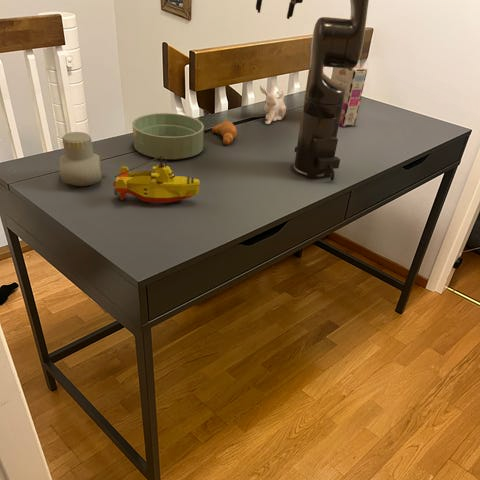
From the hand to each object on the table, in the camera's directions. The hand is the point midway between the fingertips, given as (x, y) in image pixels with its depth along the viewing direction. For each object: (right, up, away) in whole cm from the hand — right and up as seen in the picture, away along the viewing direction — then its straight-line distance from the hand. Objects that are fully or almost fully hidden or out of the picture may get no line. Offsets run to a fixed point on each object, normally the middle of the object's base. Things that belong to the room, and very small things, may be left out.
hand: (273, 15), depth 134 cm
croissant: (-13, -35, 0) cm, 38 cm away
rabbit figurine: (0, -22, +16) cm, 28 cm away
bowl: (-28, -41, -9) cm, 51 cm away
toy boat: (-27, -61, -32) cm, 74 cm away
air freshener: (-45, -56, -27) cm, 77 cm away
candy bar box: (+23, -22, +19) cm, 37 cm away
